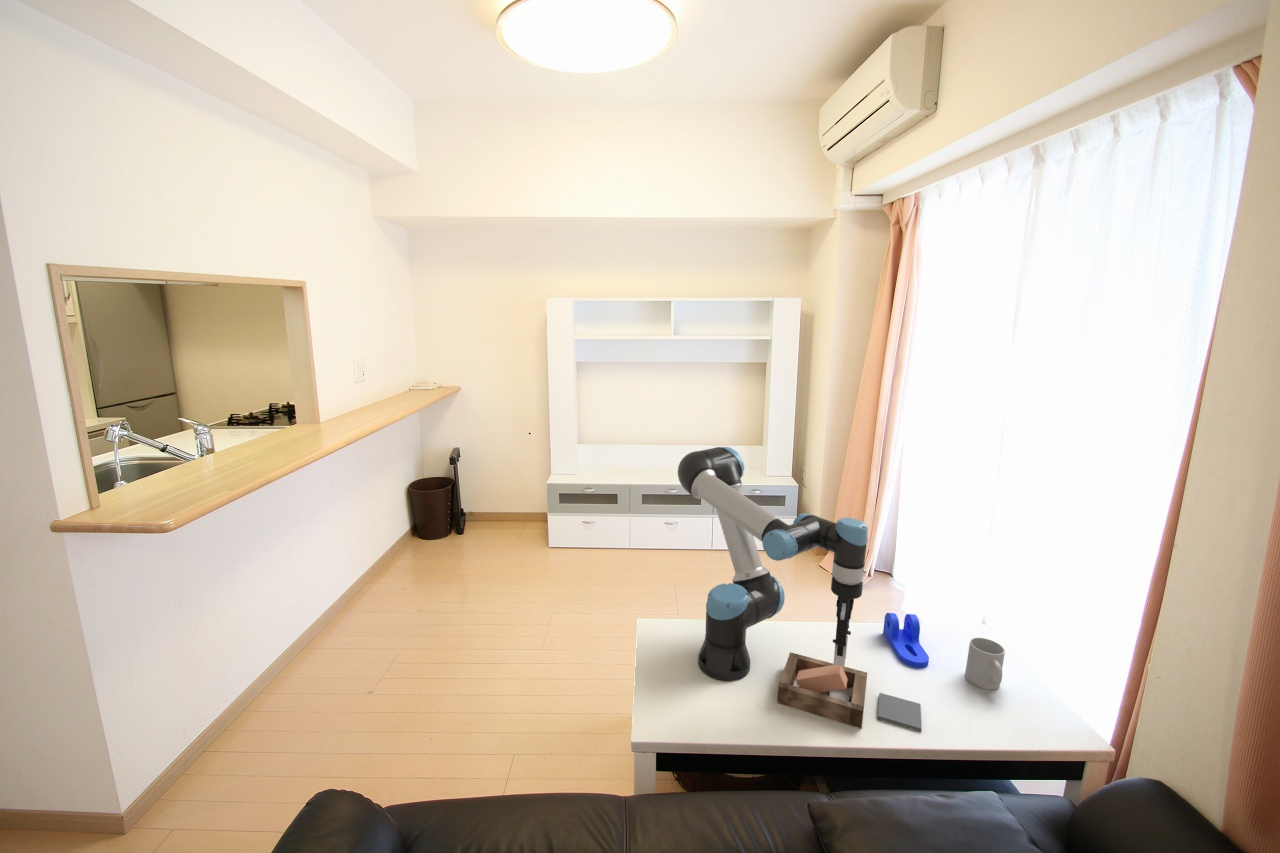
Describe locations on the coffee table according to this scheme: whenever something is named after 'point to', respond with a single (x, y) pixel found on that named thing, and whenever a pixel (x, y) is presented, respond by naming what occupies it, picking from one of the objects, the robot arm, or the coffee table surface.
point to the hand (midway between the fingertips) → (839, 660)
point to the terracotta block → (822, 679)
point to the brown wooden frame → (823, 702)
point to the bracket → (905, 640)
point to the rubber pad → (899, 712)
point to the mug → (984, 663)
